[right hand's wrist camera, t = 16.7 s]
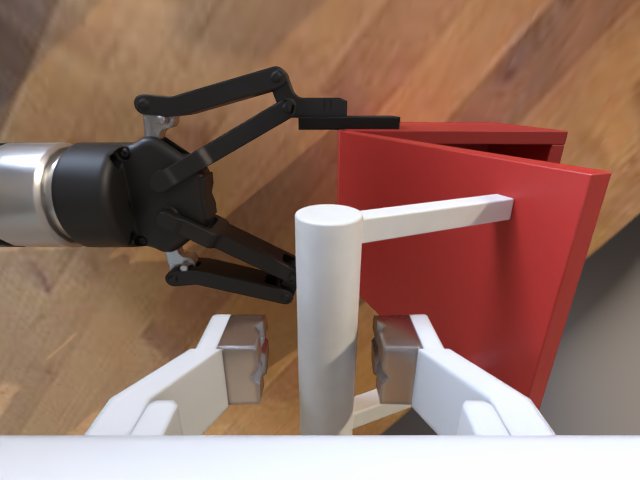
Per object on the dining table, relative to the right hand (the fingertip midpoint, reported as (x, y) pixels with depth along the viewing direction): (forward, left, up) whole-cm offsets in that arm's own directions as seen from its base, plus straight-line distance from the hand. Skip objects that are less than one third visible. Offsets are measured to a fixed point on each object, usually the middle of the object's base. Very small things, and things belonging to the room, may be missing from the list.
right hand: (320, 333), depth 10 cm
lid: (+2, +4, -7) cm, 8 cm away
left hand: (+2, +5, -16) cm, 17 cm away
